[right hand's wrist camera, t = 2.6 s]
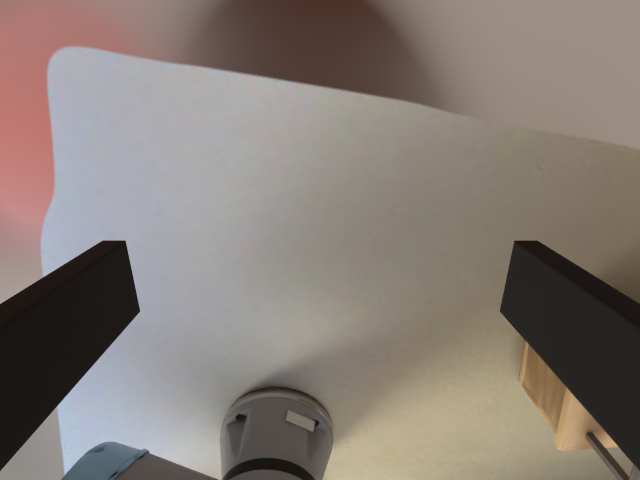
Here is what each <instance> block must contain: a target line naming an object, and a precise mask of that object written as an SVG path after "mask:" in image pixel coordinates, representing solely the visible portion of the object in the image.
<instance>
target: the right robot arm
mask: <svg viewBox="0 0 640 480" xmlns="http://www.w3.org/2000/svg"><path fill="white" fill-rule="evenodd" d="M139 312H140V309H139V304H138V299H137V294H136V289H135V284H134V280H133V275H132V270H131V265H130V260H129V255H128V251H127V246H126V241H101V242H100V243H98V244H97V245H95V246H93V247H92V248H90V249H89V250H87V251H85V252H84V253H82V254H80V255H79V256H77V257H76V258H74V259H72V260H71V261H69V262H68V263H66V264H64V265H63V266H61V267H59V268H58V269H56V270H55V271H53V272H51V273H50V274H48V275H47V276H45V277H43V278H42V279H40V280H38V281H37V282H35V283H34V284H32V285H30V286H29V287H27V288H26V289H24V290H22V291H21V292H19V293H18V294H16V295H14V296H13V297H11V298H9V299H8V300H6V301H5V302H3V303H1V304H0V471H1V469H2V468H3V467H4V466H5V465H6V464H7V463H8V461H9V460H10V459H11V458H12V457H13V456H14V455H15V453H16V452H17V451H18V450H19V449H20V448H21V447H22V445H23V444H24V443H25V442H26V441H27V440H28V439H29V438H30V436H31V435H32V434H33V433H34V432H35V431H36V430H37V428H38V427H39V426H40V425H41V424H42V423H43V422H44V420H45V419H46V418H47V417H48V416H49V415H50V414H51V412H52V411H53V410H54V409H55V408H56V407H57V406H58V404H59V403H60V402H61V401H62V400H63V399H64V398H65V396H66V395H67V394H68V393H69V392H70V391H71V390H72V388H73V387H74V386H75V385H76V384H77V383H78V382H79V380H80V379H81V378H82V377H83V376H84V375H85V374H86V372H87V371H88V370H89V369H90V368H91V367H92V366H93V364H94V363H95V362H96V361H97V360H98V359H99V358H100V357H101V355H102V354H103V353H104V352H105V351H106V350H107V349H108V347H109V346H110V345H111V344H112V343H113V342H114V341H115V339H116V338H117V337H118V336H119V335H120V334H121V333H122V331H123V330H124V329H125V328H126V327H127V326H128V325H129V323H130V322H131V321H132V320H133V319H134V318H135V317H136V315H137V314H138V313H139ZM500 312H501V313H502V314H503V315H504V317H505V318H506V319H507V320H508V321H509V322H510V323H511V325H512V326H513V327H514V328H515V329H516V330H517V331H518V333H519V334H520V335H521V336H522V337H523V338H524V339H525V341H526V342H527V343H528V344H529V345H530V346H531V347H532V349H533V350H534V351H535V352H536V353H537V354H538V355H539V357H540V358H541V359H542V360H543V361H544V362H545V363H546V365H547V366H548V367H549V368H550V369H551V370H552V371H553V372H554V374H555V375H556V376H557V377H558V378H559V379H560V380H561V382H562V383H563V384H564V385H565V386H566V387H567V388H568V390H569V391H570V392H571V393H572V394H573V395H574V396H575V398H576V399H577V400H578V401H579V402H580V403H581V404H582V406H583V407H584V408H585V409H586V410H587V411H588V412H589V414H590V415H591V416H592V417H593V418H594V419H595V420H596V422H597V423H598V424H599V425H600V426H601V427H602V428H603V430H604V431H605V432H606V433H607V434H608V435H609V436H610V438H611V439H612V440H613V441H614V442H615V443H616V444H617V445H618V447H619V448H620V449H621V450H622V451H623V452H624V453H625V455H626V456H627V457H628V458H629V459H630V460H631V461H632V463H633V464H634V465H635V466H636V467H637V468H638V469H639V471H640V304H639V303H637V302H635V301H634V300H632V299H631V298H629V297H627V296H626V295H624V294H622V293H621V292H619V291H618V290H616V289H614V288H613V287H611V286H610V285H608V284H606V283H605V282H603V281H602V280H600V279H598V278H597V277H595V276H593V275H592V274H590V273H589V272H587V271H585V270H584V269H582V268H581V267H579V266H577V265H576V264H574V263H572V262H571V261H569V260H568V259H566V258H564V257H563V256H561V255H560V254H558V253H556V252H555V251H553V250H551V249H550V248H548V247H547V246H545V245H543V244H542V243H540V242H539V241H514V246H513V251H512V255H511V260H510V265H509V270H508V275H507V280H506V284H505V289H504V294H503V299H502V304H501V309H500ZM332 444H333V428H332V422H331V419H330V417H329V415H328V413H327V412H326V410H325V409H324V408H323V407H322V406H321V405H320V404H319V403H318V402H317V401H315V400H314V399H312V398H311V397H309V396H307V395H305V394H303V393H300V392H297V391H294V390H289V389H282V388H269V389H262V390H257V391H254V392H251V393H249V394H246V395H244V396H243V397H241V398H240V399H238V400H237V401H236V402H235V403H234V404H232V406H231V407H230V408H229V410H228V411H227V413H226V415H225V418H224V421H223V424H222V428H221V435H220V449H221V467H222V480H322V478H323V475H324V472H325V469H326V466H327V463H328V460H329V457H330V454H331V450H332ZM61 480H217V479H215V478H212V477H210V476H207V475H205V474H202V473H199V472H197V471H194V470H191V469H189V468H186V467H184V466H181V465H178V464H176V463H173V462H171V461H168V460H165V459H163V458H160V457H158V456H155V455H152V454H150V453H149V451H148V450H146V449H143V450H138V449H135V448H132V447H129V446H126V445H123V444H119V443H116V442H105V443H101V444H99V445H97V446H95V447H93V448H92V449H90V450H89V451H88V452H87V453H86V454H84V455H83V456H82V457H81V458H80V459H79V460H78V461H77V463H76V464H75V465H74V466H73V467H72V468H71V469H70V470H69V471H68V472H67V473H66V475H65V476H64V477H63V478H62V479H61Z"/></svg>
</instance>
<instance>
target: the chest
mask: <svg viewBox="0 0 640 480" xmlns="http://www.w3.org/2000/svg"><path fill="white" fill-rule="evenodd" d="M519 383H520V384H521V385H522V387H523V388H524V390H525V391H526V392H527V394H528V395H529V397H530V398H531V399H532V401H533V402H534V404H535V405H536V407H537V408H538V409H539V411H540V412H541V414H542V415H543V416H544V418H545V419H546V421H547V422H548V424H549V425H550V426H551V428H552V429H553V431H554V432H555V433H556V434H557V430H558V425H559V420H560V415H561V410H562V405H563V400H564V396H565V391H566V386H565V385H564V384H563V383H562V382H561V380H560V379H559V378H558V377H557V376H556V375H555V374H554V372H553V371H552V370H551V369H550V368H549V367H548V366H547V365H546V363H545V362H544V361H543V360H542V359H541V358H540V357H539V355H538V354H537V353H536V352H535V351H534V350H533V349H532V347H531V346H530V345H529V344H528V343H527V342H526V341H525V342H524V349H523V356H522V363H521V370H520V377H519Z"/></svg>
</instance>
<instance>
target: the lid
mask: <svg viewBox="0 0 640 480" xmlns="http://www.w3.org/2000/svg"><path fill="white" fill-rule="evenodd" d="M555 445H556V446H557V448H558V449H559V450H578V449H594V450H595V451H596V452H597V454H598V455H599V456H600V457H601V459H602V460H603V461H604V463H605V464H606V465H607V466H608V468H609V469H610V470H611V471H612V473H613V474H614V475H615V477H616V478H617V479H618V480H640V471H639V469H638V468H637V467H636V466H635V465H633V468H632V471H631V474H630V477H629V476H628V475H627V474H626V473H625V472H624V470H623V469H622V468H621V467H620V465H619V464H618V463H617V462H616V461H615V459H614V458H613V457H612V456H611V454H610V453H609V452H608V451H607V450H606V448H613V447H618V445H617V444H616V443H615V442H614V441H613V440H612V439H611V438H610V436H609V435H608V434H607V433H606V432H605V431H604V430H603V428H602V427H601V426H600V425H599V424H598V423H597V422H596V420H595V419H594V418H593V417H592V416H591V415H590V414H589V412H588V411H587V410H586V409H585V408H584V407H583V406H582V404H581V403H580V402H579V401H578V400H577V399H576V398H575V396H574V395H573V394H572V393H571V392H570V391H569V390H568V388H567V387H566V391H565V396H564V400H563V405H562V410H561V415H560V420H559V425H558V430H557V434H556V439H555Z"/></svg>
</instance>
